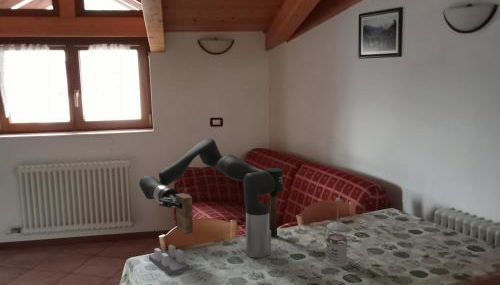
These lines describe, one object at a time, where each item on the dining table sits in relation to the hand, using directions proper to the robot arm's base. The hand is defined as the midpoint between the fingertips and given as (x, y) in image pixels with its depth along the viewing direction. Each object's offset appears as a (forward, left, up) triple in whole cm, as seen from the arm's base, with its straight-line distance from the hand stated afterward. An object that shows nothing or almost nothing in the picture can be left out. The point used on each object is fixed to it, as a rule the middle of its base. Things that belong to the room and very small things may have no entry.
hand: (185, 205), depth 173 cm
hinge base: (+7, -1, -22) cm, 23 cm away
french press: (-46, +34, -22) cm, 61 cm away
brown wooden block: (0, -1, -10) cm, 11 cm away
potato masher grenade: (-44, -1, -22) cm, 49 cm away
